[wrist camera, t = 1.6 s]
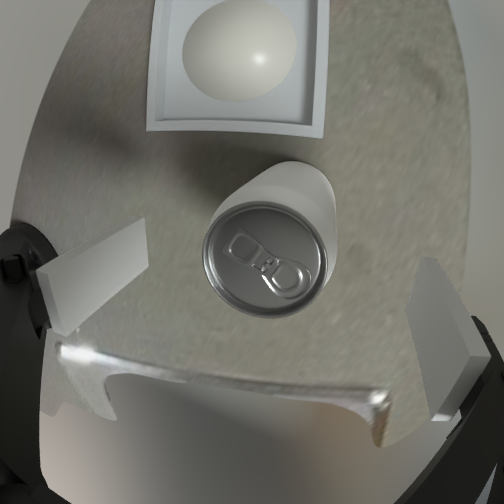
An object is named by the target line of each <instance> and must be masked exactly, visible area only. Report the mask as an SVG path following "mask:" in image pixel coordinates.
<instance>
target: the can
mask: <svg viewBox="0 0 504 504" xmlns="http://www.w3.org/2000/svg"><path fill="white" fill-rule="evenodd" d="M336 257H337V223H336V207H335V198H334V193H333V190H332V187H331V185H330V183H329V181H328V180H327V178H326V177H325V176H324V175H323V174H322V173H321V172H320V171H319V170H318V169H316V168H315V167H313V166H311V165H309V164H306V163H303V162H298V161H287V162H282V163H278V164H276V165H274V166H272V167H270V168H268V169H267V170H265V171H264V172H262V173H261V174H259V175H258V176H256V177H255V178H253V179H252V180H251V181H249V182H248V183H246V184H245V185H243V186H242V187H241V188H239V189H238V190H237V191H235V192H234V193H233V194H231V195H230V196H229V197H228V198H227V199H225V200H224V201H223V203H222V204H221V205H220V206H219V207H218V209H217V210H216V211H215V213H214V215H213V217H212V219H211V221H210V223H209V227H208V231H207V233H206V236H205V239H204V243H203V248H202V261H203V267H204V271H205V274H206V276H207V279H208V281H209V283H210V284H211V286H212V288H213V289H214V290H215V292H216V293H217V294H218V295H219V296H220V297H221V298H222V299H223V300H224V301H225V302H226V303H227V304H229V305H230V306H232V307H233V308H235V309H236V310H238V311H240V312H242V313H245V314H248V315H251V316H254V317H259V318H282V317H286V316H290V315H293V314H295V313H297V312H299V311H301V310H303V309H304V308H306V307H307V306H308V305H310V304H311V303H312V302H313V301H314V300H315V299H316V297H317V296H318V295H319V293H320V292H321V290H322V288H323V287H324V286H325V285H326V283H327V282H328V280H329V278H330V276H331V274H332V272H333V269H334V266H335V262H336Z"/></svg>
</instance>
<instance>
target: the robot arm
mask: <svg viewBox="0 0 504 504" xmlns="http://www.w3.org/2000/svg"><path fill="white" fill-rule="evenodd" d="M148 267H149V266H148V255H147V243H146V230H145V217H141V216H131V217H129V218H127V219H125V220H123V221H121V222H119V223H117V224H115V225H113V226H111V227H110V228H108V229H106V230H104V231H102V232H100V233H99V234H97V235H95V236H93V237H91V238H89V239H88V240H86V241H84V242H82V243H81V244H79V245H77V246H75V247H74V248H72V249H70V250H68V251H67V252H65V253H63V254H61V255H60V256H57V254H56V253H55V251H54V249H53V248H52V246H51V245H50V243H49V242H48V241H47V240H46V238H45V237H44V236H43V235H42V234H41V233H40V232H39V231H38V230H36V229H35V228H33V227H32V226H30V225H27V224H17V225H15V226H13V227H11V228H9V229H7V230H6V231H4V232H3V233H2V234H1V235H0V504H71V503H70V502H68V501H67V500H65V499H63V498H62V497H61V496H59V495H58V494H56V493H55V492H54V491H52V490H50V489H49V488H48V485H47V483H46V481H45V479H44V477H43V475H42V472H41V468H40V450H39V449H40V448H39V411H40V389H41V376H42V365H43V356H44V347H45V340H46V333H47V331H46V329H49V328H53V331H54V332H56V333H58V334H60V335H62V336H64V337H67V336H68V335H69V334H70V333H71V332H72V331H74V330H75V329H76V328H77V327H78V326H79V325H80V324H82V323H83V322H84V321H85V320H86V319H87V318H88V317H89V316H91V315H92V314H93V313H94V312H95V311H96V310H98V309H99V308H100V307H101V306H102V305H103V304H105V303H106V302H107V301H108V300H109V299H110V298H112V297H113V296H114V295H115V294H116V293H117V292H119V291H120V290H121V289H122V288H123V287H125V286H126V285H127V284H128V283H129V282H131V281H132V280H133V279H134V278H135V277H137V276H138V275H139V274H140V273H141V272H143V271H144V270H145V269H146V268H148ZM405 311H406V314H407V317H408V321H409V325H410V328H411V332H412V336H413V339H414V343H415V347H416V351H417V355H418V359H419V364H420V368H421V372H422V377H423V381H424V386H425V391H426V396H427V401H428V407H429V412H430V418H431V421H451V419H452V418H453V417H454V415H455V414H456V413H457V411H458V410H459V409H460V413H461V416H462V418H461V420H460V421H459V422H458V424H457V425H456V426H455V427H454V429H453V430H452V431H451V433H450V434H449V435H448V437H447V440H446V441H445V442H444V444H443V445H442V447H441V448H440V449H439V451H438V452H437V454H436V455H435V456H434V457H433V459H432V460H431V461H430V462H429V464H428V465H427V467H426V468H425V469H424V470H423V471H422V472H421V474H420V475H419V476H418V477H417V478H416V480H415V481H414V482H413V483H412V485H410V487H409V488H408V489H407V490H406V491H405V492H404V493H403V494H402V495H401V497H400V498H399V499H398V500H397V501H396V502H395V503H394V504H475V502H476V501H477V498H478V497H479V496H480V494H481V492H482V490H483V488H484V487H485V485H486V483H487V481H488V479H489V477H490V476H491V474H492V472H493V470H494V468H495V466H496V464H497V466H496V471H495V475H494V479H493V483H492V486H491V490H490V494H489V497H488V501H487V504H504V362H503V359H502V358H501V356H500V353H499V351H498V350H497V348H496V346H495V344H494V342H492V341H493V340H492V338H491V336H490V335H489V333H488V331H487V329H486V327H485V325H484V324H483V323H482V322H481V321H480V320H479V319H478V318H477V317H476V316H470V314H469V312H468V311H467V309H466V307H465V305H464V304H463V302H462V300H461V298H460V297H459V295H458V293H457V291H456V290H455V288H454V286H453V285H452V283H451V282H450V280H449V278H448V277H447V275H446V273H445V272H444V270H443V269H442V267H441V266H440V264H439V263H438V261H437V259H434V258H428V257H422V256H421V259H420V262H419V266H418V270H417V273H416V277H415V280H414V284H413V287H412V290H411V293H410V297H409V300H408V303H407V306H406V309H405Z"/></svg>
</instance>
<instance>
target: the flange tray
mask: <svg viewBox="0 0 504 504" xmlns="http://www.w3.org/2000/svg"><path fill="white" fill-rule="evenodd" d="M329 16H330V0H155V7H154V16H153V24H152V34H151V45H150V57H149V72H148V90H147V123H146V131H178V130H197V131H235V132H255V133H270V134H282V135H294V136H304V137H313V138H322V139H323V134H324V121H325V108H326V92H327V74H328V52H329Z"/></svg>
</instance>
